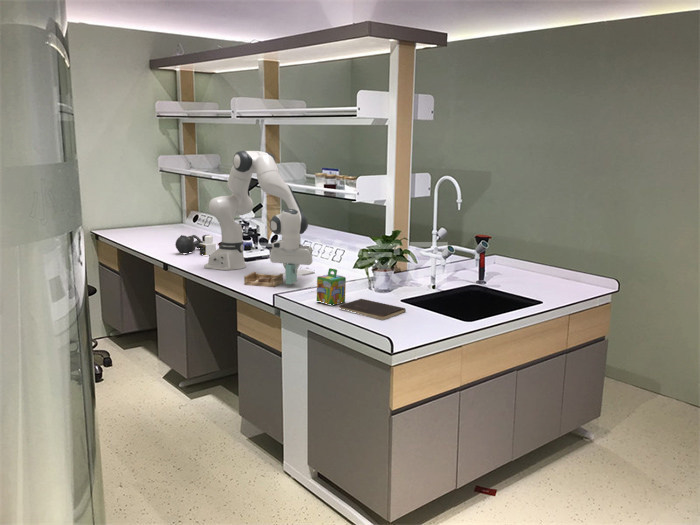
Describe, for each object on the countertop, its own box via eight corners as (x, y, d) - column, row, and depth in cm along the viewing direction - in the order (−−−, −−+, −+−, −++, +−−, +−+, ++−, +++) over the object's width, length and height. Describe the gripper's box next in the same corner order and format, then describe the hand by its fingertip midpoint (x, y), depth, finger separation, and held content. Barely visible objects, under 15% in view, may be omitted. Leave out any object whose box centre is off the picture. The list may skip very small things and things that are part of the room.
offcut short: (258, 281, 295) (258, 278, 295) (260, 280, 299) (260, 277, 299) (268, 282, 295) (268, 279, 294) (270, 280, 298) (270, 277, 298)
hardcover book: (382, 321, 245) (382, 316, 244) (338, 310, 259) (338, 305, 259) (405, 313, 257) (405, 307, 256) (362, 303, 271) (362, 298, 271)
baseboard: (253, 280, 313) (269, 284, 305) (253, 274, 312) (269, 278, 304) (299, 271, 335) (314, 274, 327) (299, 265, 335) (314, 269, 327)
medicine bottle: (199, 254, 374) (199, 235, 372) (210, 253, 379) (209, 233, 377) (205, 256, 369) (205, 236, 367) (216, 255, 374) (215, 235, 372)
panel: (291, 280, 299) (291, 262, 297) (296, 280, 298) (296, 262, 297) (285, 284, 291) (285, 265, 290) (290, 284, 291) (290, 265, 289)
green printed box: (316, 302, 269) (316, 269, 266) (330, 298, 276) (330, 266, 273) (331, 306, 263) (331, 272, 260) (346, 302, 270) (346, 269, 267)
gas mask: (206, 264, 388) (181, 251, 367) (195, 262, 392) (170, 250, 370) (213, 242, 392) (188, 228, 370) (202, 241, 396) (177, 227, 374)
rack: (244, 286, 296) (244, 276, 295) (254, 281, 306) (253, 271, 305) (274, 289, 292) (274, 278, 291) (282, 284, 302) (282, 274, 301)
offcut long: (254, 284, 296) (254, 281, 296) (257, 282, 300) (257, 279, 300) (267, 285, 295) (267, 282, 294) (270, 283, 298) (270, 280, 298)
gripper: (314, 244, 292) (314, 273, 294) (273, 241, 297) (274, 270, 300) (309, 246, 286) (309, 275, 288) (268, 243, 291) (268, 272, 294)
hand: (291, 272), depth 294 cm, fingers closed on panel, 2 cm apart
